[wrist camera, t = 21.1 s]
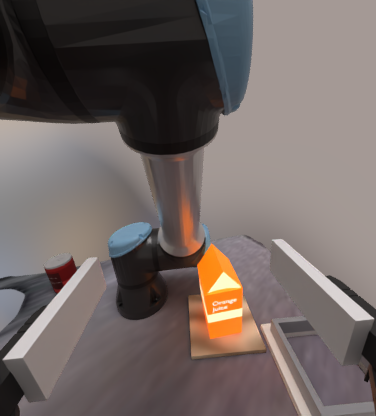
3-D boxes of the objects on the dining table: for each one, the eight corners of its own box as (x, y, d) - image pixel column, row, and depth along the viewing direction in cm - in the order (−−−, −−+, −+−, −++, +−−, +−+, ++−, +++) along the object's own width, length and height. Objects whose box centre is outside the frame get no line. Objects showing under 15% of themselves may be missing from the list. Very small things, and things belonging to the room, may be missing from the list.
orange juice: (209, 339, 40) (202, 275, 32) (202, 304, 48) (194, 245, 40) (242, 332, 41) (243, 267, 32) (229, 298, 49) (227, 239, 40)
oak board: (188, 298, 52) (188, 295, 52) (241, 293, 53) (241, 290, 52) (191, 359, 37) (191, 356, 37) (265, 352, 38) (266, 349, 37)
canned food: (82, 275, 66) (73, 250, 63) (78, 290, 59) (68, 263, 55) (58, 282, 64) (48, 256, 60) (51, 298, 57) (39, 270, 53)
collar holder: (260, 328, 42) (261, 313, 41) (333, 321, 43) (338, 306, 41) (313, 451, 25) (319, 434, 24) (435, 438, 26) (450, 420, 24)
